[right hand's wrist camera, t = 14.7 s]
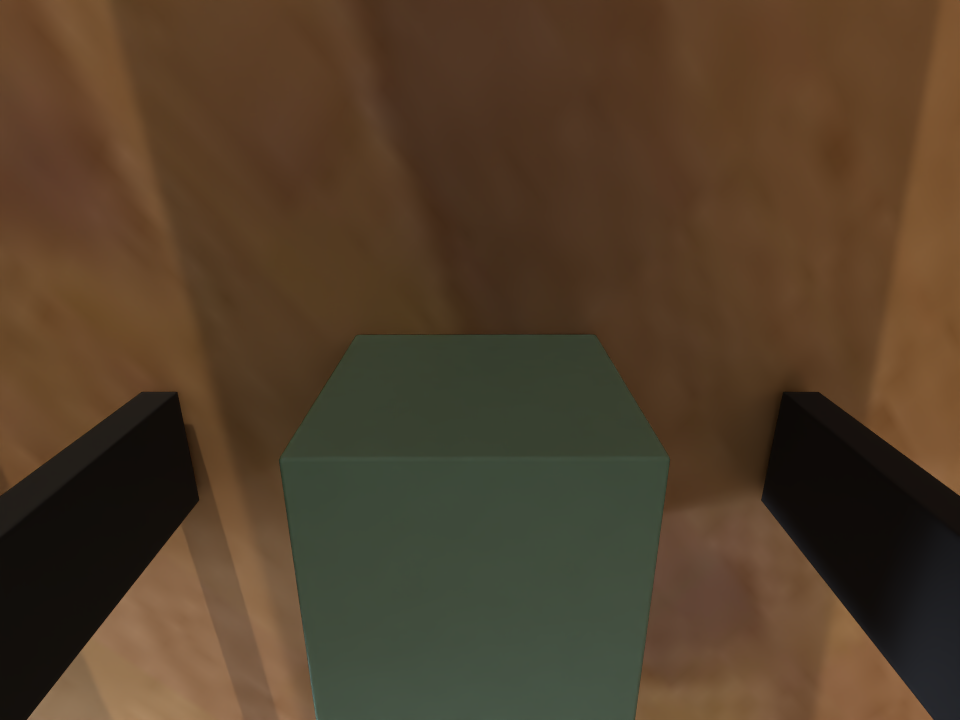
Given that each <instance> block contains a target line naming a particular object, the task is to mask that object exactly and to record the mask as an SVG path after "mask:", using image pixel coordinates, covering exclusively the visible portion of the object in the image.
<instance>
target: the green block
mask: <svg viewBox="0 0 960 720" xmlns="http://www.w3.org/2000/svg"><path fill="white" fill-rule="evenodd" d="M279 463H280V470H281V477H282V484H283V491H284V498H285V505H286V512H287V519H288V526H289V533H290V540H291V547H292V554H293V561H294V568H295V575H296V582H297V589H298V596H299V603H300V610H301V617H302V624H303V631H304V638H305V645H306V652H307V659H308V666H309V673H310V680H311V687H312V694H313V701H314V708H315V715H316V720H635V715H636V708H637V700H638V693H639V686H640V678H641V671H642V663H643V656H644V648H645V641H646V634H647V626H648V619H649V611H650V604H651V597H652V589H653V582H654V574H655V567H656V559H657V552H658V545H659V537H660V530H661V522H662V515H663V508H664V500H665V493H666V485H667V478H668V470H669V463H670V458H669V456H668V454H667V452H666V451H665V449H664V447H663V446H662V444H661V442H660V441H659V439H658V437H657V436H656V434H655V433H654V431H653V429H652V428H651V426H650V424H649V423H648V421H647V419H646V418H645V416H644V414H643V413H642V411H641V409H640V408H639V406H638V404H637V403H636V401H635V399H634V398H633V396H632V394H631V393H630V391H629V389H628V388H627V386H626V384H625V383H624V381H623V379H622V378H621V376H620V374H619V373H618V371H617V370H616V368H615V366H614V365H613V363H612V361H611V360H610V358H609V356H608V355H607V353H606V351H605V350H604V348H603V346H602V345H601V343H600V341H599V340H598V338H597V336H596V335H357V336H355V338H354V340H353V341H352V343H351V344H350V346H349V348H348V349H347V351H346V352H345V354H344V356H343V357H342V359H341V360H340V362H339V364H338V365H337V367H336V368H335V370H334V372H333V373H332V375H331V376H330V378H329V380H328V381H327V383H326V384H325V386H324V388H323V389H322V391H321V392H320V394H319V396H318V397H317V399H316V400H315V402H314V404H313V405H312V407H311V408H310V410H309V412H308V413H307V415H306V416H305V418H304V420H303V421H302V423H301V424H300V426H299V428H298V429H297V431H296V432H295V434H294V436H293V437H292V439H291V440H290V442H289V444H288V445H287V447H286V448H285V450H284V452H283V453H282V455H281V456H280V459H279Z"/></svg>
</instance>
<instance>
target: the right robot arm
mask: <svg viewBox="0 0 960 720" xmlns="http://www.w3.org/2000/svg"><path fill="white" fill-rule="evenodd" d="M198 501H199V497H198V492H197V487H196V482H195V477H194V472H193V467H192V462H191V457H190V452H189V448H188V443H187V438H186V433H185V428H184V423H183V418H182V413H181V408H180V403H179V398H178V393H177V392H141V393H140V394H138V395H137V396H136V397H134V398H133V399H132V400H130V401H129V402H128V403H126V404H125V405H124V406H122V407H121V408H119V409H118V410H117V411H115V412H114V413H113V414H111V415H110V416H109V417H107V418H106V419H105V420H103V421H102V422H100V423H99V424H98V425H96V426H95V427H94V428H92V429H91V430H90V431H88V432H87V433H86V434H84V435H83V436H81V437H80V438H79V439H77V440H76V441H75V442H73V443H72V444H71V445H69V446H68V447H67V448H65V449H64V450H62V451H61V452H60V453H58V454H57V455H56V456H54V457H53V458H52V459H50V460H49V461H48V462H46V463H45V464H43V465H42V466H41V467H39V468H38V469H37V470H35V471H34V472H33V473H31V474H30V475H29V476H27V477H26V478H24V479H23V480H22V481H20V482H19V483H18V484H16V485H15V486H14V487H12V488H11V489H10V490H8V491H7V492H5V493H4V494H3V495H1V496H0V720H27V719H28V717H29V716H30V715H31V714H32V712H33V711H34V710H35V708H36V707H37V706H38V705H39V703H40V702H41V701H42V700H43V698H44V697H45V696H46V694H47V693H48V692H49V691H50V689H51V688H52V687H53V686H54V684H55V683H56V682H57V680H58V679H59V678H60V677H61V675H62V674H63V673H64V672H65V670H66V669H67V668H68V666H69V665H70V664H71V663H72V661H73V660H74V659H75V658H76V656H77V655H78V654H79V652H80V651H81V650H82V649H83V647H84V646H85V645H86V644H87V642H88V641H89V640H90V638H91V637H92V636H93V635H94V633H95V632H96V631H97V630H98V628H99V627H100V626H101V624H102V623H103V622H104V621H105V619H106V618H107V617H108V616H109V614H110V613H111V612H112V610H113V609H114V608H115V607H116V605H117V604H118V603H119V602H120V600H121V599H122V598H123V596H124V595H125V594H126V593H127V591H128V590H129V589H130V588H131V586H132V585H133V584H134V582H135V581H136V580H137V579H138V577H139V576H140V575H141V574H142V572H143V571H144V570H145V568H146V567H147V566H148V565H149V563H150V562H151V561H152V560H153V558H154V557H155V556H156V554H157V553H158V552H159V551H160V549H161V548H162V547H163V546H164V544H165V543H166V542H167V540H168V539H169V538H170V537H171V535H172V534H173V533H174V532H175V530H176V529H177V528H178V526H179V525H180V524H181V523H182V521H183V520H184V519H185V518H186V516H187V515H188V514H189V512H190V511H191V510H192V509H193V507H194V506H195V505H196V504H197V502H198ZM761 501H762V502H763V503H764V504H765V506H766V507H767V508H768V509H769V511H770V512H771V513H772V515H773V516H774V517H775V518H776V520H777V521H778V522H779V523H780V525H781V526H782V527H783V529H784V530H785V531H786V532H787V534H788V535H789V536H790V537H791V539H792V540H793V541H794V543H795V544H796V545H797V546H798V548H799V549H800V550H801V551H802V553H803V554H804V555H805V557H806V558H807V559H808V560H809V562H810V563H811V564H812V565H813V567H814V568H815V569H816V571H817V572H818V573H819V574H820V576H821V577H822V578H823V579H824V581H825V582H826V583H827V585H828V586H829V587H830V588H831V590H832V591H833V592H834V593H835V595H836V596H837V597H838V599H839V600H840V601H841V602H842V604H843V605H844V606H845V607H846V609H847V610H848V611H849V613H850V614H851V615H852V616H853V618H854V619H855V620H856V621H857V623H858V624H859V625H860V627H861V628H862V629H863V630H864V632H865V633H866V634H867V635H868V637H869V638H870V639H871V641H872V642H873V643H874V644H875V646H876V647H877V648H878V649H879V651H880V652H881V653H882V655H883V656H884V657H885V658H886V660H887V661H888V662H889V663H890V665H891V666H892V667H893V669H894V670H895V671H896V672H897V674H898V675H899V676H900V677H901V679H902V680H903V681H904V683H905V684H906V685H907V686H908V688H909V689H910V690H911V691H912V693H913V694H914V695H915V697H916V698H917V699H918V700H919V702H920V703H921V704H922V705H923V707H924V708H925V709H926V711H927V712H928V713H929V714H930V716H931V717H932V718H933V719H934V720H960V496H959V495H958V494H956V493H955V492H954V491H952V490H951V489H950V488H948V487H947V486H945V485H944V484H943V483H941V482H940V481H939V480H937V479H936V478H935V477H933V476H932V475H931V474H929V473H928V472H926V471H925V470H924V469H922V468H921V467H920V466H918V465H917V464H916V463H914V462H913V461H912V460H910V459H909V458H907V457H906V456H905V455H903V454H902V453H901V452H899V451H898V450H897V449H895V448H894V447H893V446H891V445H890V444H888V443H887V442H886V441H884V440H883V439H882V438H880V437H879V436H878V435H876V434H875V433H873V432H872V431H871V430H869V429H868V428H867V427H865V426H864V425H863V424H861V423H860V422H859V421H857V420H856V419H854V418H853V417H852V416H850V415H849V414H848V413H846V412H845V411H844V410H842V409H841V408H840V407H838V406H837V405H835V404H834V403H833V402H831V401H830V400H829V399H827V398H826V397H825V396H823V395H822V394H821V393H819V392H783V395H782V400H781V405H780V410H779V415H778V420H777V425H776V430H775V435H774V440H773V445H772V450H771V454H770V459H769V464H768V469H767V474H766V479H765V484H764V489H763V494H762V499H761Z"/></svg>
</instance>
